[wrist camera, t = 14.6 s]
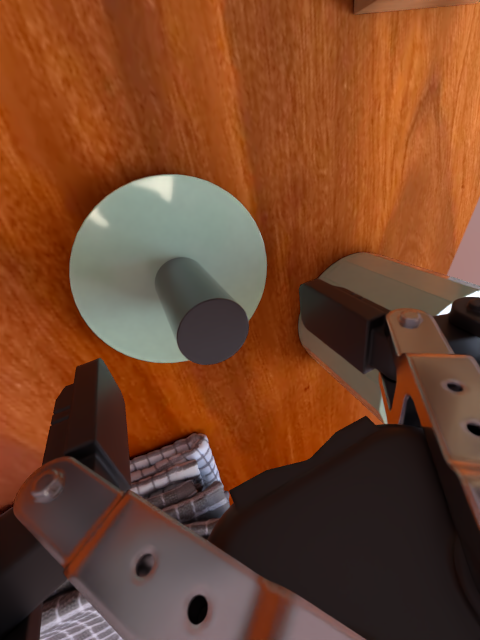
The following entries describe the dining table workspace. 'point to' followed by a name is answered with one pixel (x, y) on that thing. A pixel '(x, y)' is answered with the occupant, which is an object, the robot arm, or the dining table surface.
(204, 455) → the towel
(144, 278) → the lid
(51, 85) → the dining table surface
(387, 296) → the pot
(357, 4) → the stand
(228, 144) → the dining table surface
